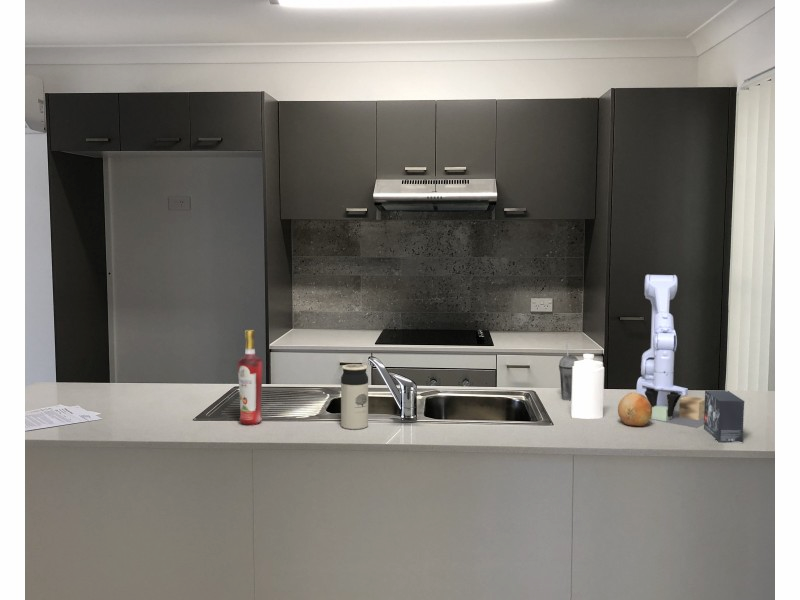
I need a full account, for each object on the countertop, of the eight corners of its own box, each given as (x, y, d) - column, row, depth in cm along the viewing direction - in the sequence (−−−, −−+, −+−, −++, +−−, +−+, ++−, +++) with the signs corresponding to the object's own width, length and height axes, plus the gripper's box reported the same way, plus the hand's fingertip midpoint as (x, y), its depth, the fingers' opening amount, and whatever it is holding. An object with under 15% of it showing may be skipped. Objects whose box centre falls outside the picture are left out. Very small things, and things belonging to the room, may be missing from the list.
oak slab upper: (679, 407, 223) (679, 399, 222) (686, 404, 227) (687, 396, 227) (698, 411, 219) (699, 402, 218) (705, 407, 223) (706, 399, 223)
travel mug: (337, 424, 213) (337, 364, 211) (362, 421, 216) (362, 363, 214) (346, 431, 206) (346, 369, 204) (372, 428, 209) (372, 367, 207)
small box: (702, 429, 210) (704, 389, 209) (726, 430, 209) (728, 390, 208) (717, 442, 197) (719, 399, 195) (743, 443, 196) (745, 400, 195)
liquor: (233, 424, 212) (232, 331, 209) (247, 419, 218) (246, 328, 216) (254, 427, 209) (253, 332, 206) (268, 421, 216) (267, 329, 213)
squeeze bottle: (569, 415, 225) (572, 419, 220) (571, 352, 223) (574, 355, 218) (600, 416, 225) (604, 420, 220) (602, 353, 223) (606, 356, 218)
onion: (616, 428, 210) (617, 395, 209) (618, 420, 219) (619, 388, 218) (651, 432, 207) (652, 398, 206) (651, 423, 216) (652, 391, 215)
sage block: (651, 418, 220) (652, 407, 220) (657, 415, 224) (658, 405, 223) (666, 421, 217) (666, 409, 217) (671, 418, 221) (672, 407, 220)
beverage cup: (581, 401, 244) (583, 344, 242) (560, 401, 244) (561, 343, 242) (576, 397, 251) (578, 340, 250) (555, 396, 251) (557, 340, 250)
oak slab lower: (678, 416, 223) (679, 407, 223) (686, 413, 227) (686, 404, 227) (698, 420, 219) (698, 411, 219) (705, 416, 223) (705, 407, 223)
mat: (647, 420, 220) (647, 418, 220) (669, 410, 233) (669, 409, 232) (696, 429, 210) (697, 427, 210) (717, 418, 222) (717, 417, 222)
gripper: (635, 369, 221) (633, 412, 222) (682, 376, 211) (680, 421, 213) (644, 367, 226) (643, 409, 228) (691, 373, 217) (689, 416, 218)
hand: (661, 414), depth 220 cm, fingers closed on sage block, 4 cm apart
